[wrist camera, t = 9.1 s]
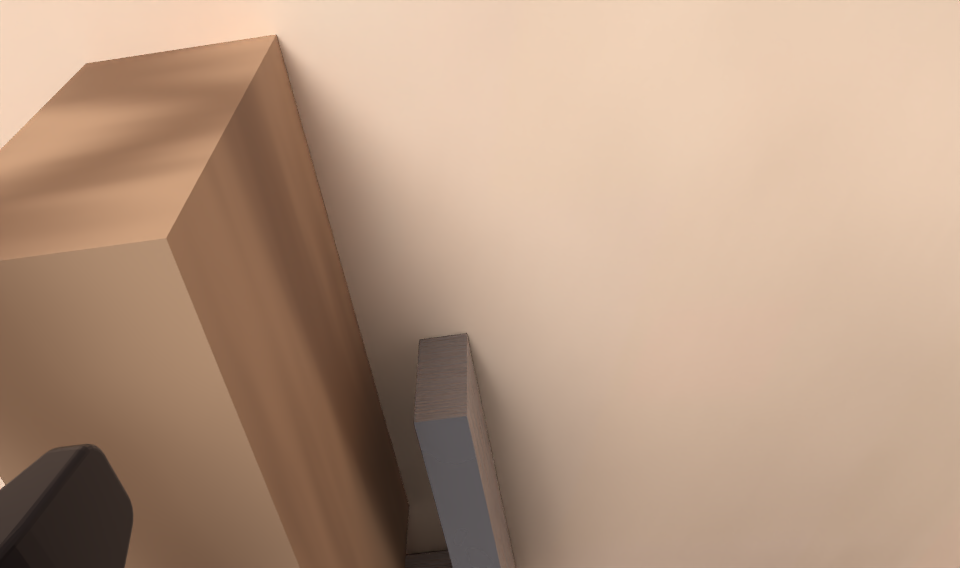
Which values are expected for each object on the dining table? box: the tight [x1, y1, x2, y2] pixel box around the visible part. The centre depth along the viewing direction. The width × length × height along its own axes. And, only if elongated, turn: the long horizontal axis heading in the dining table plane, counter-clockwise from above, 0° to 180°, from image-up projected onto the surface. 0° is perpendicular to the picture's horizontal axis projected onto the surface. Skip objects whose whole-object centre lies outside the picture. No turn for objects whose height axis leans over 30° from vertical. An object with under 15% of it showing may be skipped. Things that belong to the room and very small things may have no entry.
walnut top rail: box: [0, 35, 409, 568], centre depth 19 cm, size 4×14×8 cm, turn 8°
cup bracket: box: [405, 333, 516, 568], centre depth 24 cm, size 9×9×3 cm
